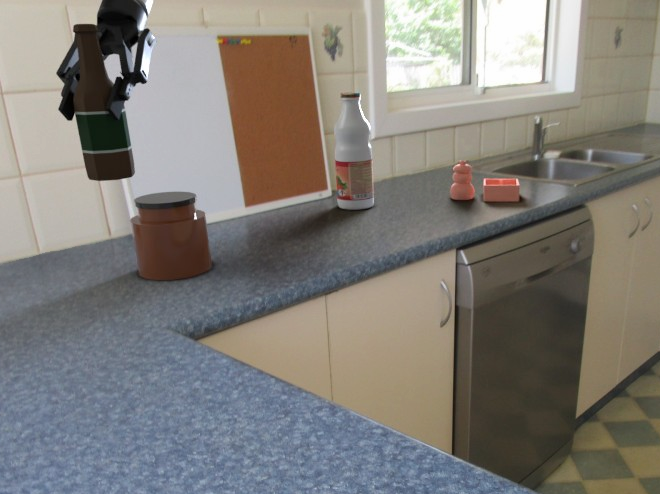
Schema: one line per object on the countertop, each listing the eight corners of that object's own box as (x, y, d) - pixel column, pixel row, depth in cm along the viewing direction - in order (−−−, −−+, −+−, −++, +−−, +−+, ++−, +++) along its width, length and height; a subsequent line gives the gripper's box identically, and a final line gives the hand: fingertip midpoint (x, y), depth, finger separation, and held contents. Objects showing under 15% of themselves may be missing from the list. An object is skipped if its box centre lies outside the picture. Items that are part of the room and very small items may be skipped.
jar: (138, 264, 127) (126, 194, 122) (207, 255, 131) (199, 187, 127) (139, 284, 116) (126, 208, 111) (216, 274, 120) (206, 200, 115)
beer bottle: (141, 177, 112) (116, 22, 103) (92, 183, 107) (61, 22, 99) (130, 171, 118) (105, 25, 109) (83, 176, 114) (53, 25, 105)
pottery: (517, 194, 181) (518, 157, 177) (518, 201, 172) (520, 163, 168) (450, 194, 183) (451, 158, 179) (449, 201, 174) (449, 163, 170)
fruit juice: (369, 210, 166) (364, 93, 156) (333, 209, 167) (326, 94, 158) (378, 202, 174) (373, 91, 164) (343, 202, 176) (337, 91, 166)
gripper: (189, 24, 117) (158, 129, 108) (83, 28, 120) (44, 130, 111) (170, -11, 110) (136, 97, 101) (58, -6, 113) (15, 99, 104)
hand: (88, 114), depth 106 cm, fingers closed on beer bottle, 7 cm apart
